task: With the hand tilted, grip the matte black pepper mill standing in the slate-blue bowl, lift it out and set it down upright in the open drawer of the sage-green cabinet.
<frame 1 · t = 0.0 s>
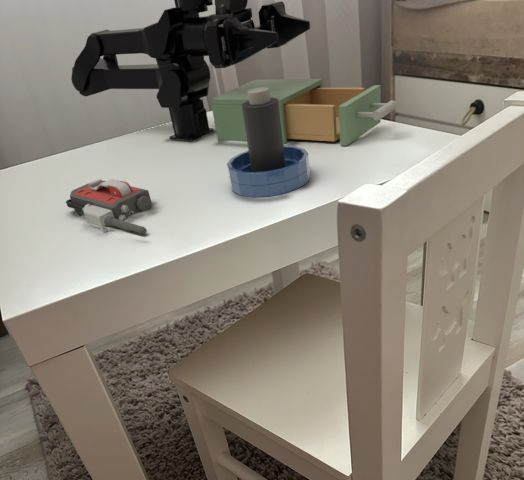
hand: (294, 30, 80), 17 cm above the table, tool horizontal, fingers open, 9 cm apart
bowl: (270, 186, 75), on the table
drawer: (338, 114, 87), point 4 cm above the table, slide at 10.0 cm
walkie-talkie: (121, 218, 74), on the table
cabinet: (271, 134, 96), on the table
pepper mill: (270, 181, 75), point 1 cm above the table, touching bowl
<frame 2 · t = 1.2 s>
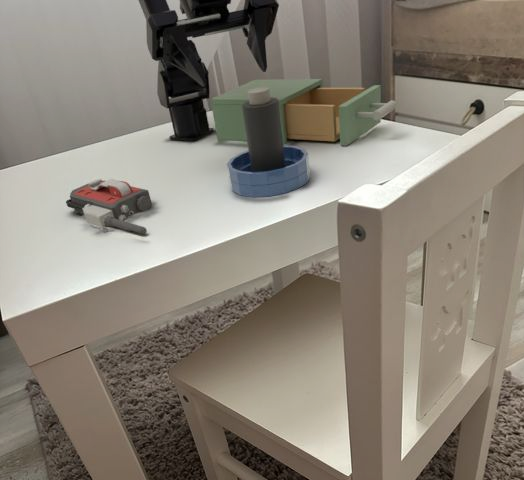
hand: (235, 76, 73), 13 cm above the table, tool tilted 45°, fingers open, 9 cm apart
nothing on the table moved.
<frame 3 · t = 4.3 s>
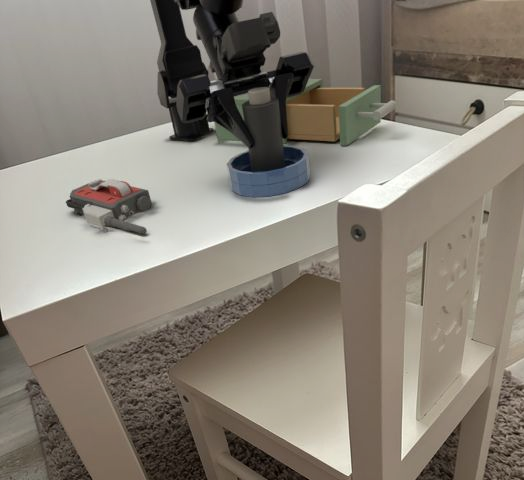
hand: (268, 141, 70), 7 cm above the table, tool tilted 45°, fingers closed on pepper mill, 5 cm apart
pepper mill: (270, 181, 75), point 1 cm above the table, touching bowl, gripper
everything else where it was.
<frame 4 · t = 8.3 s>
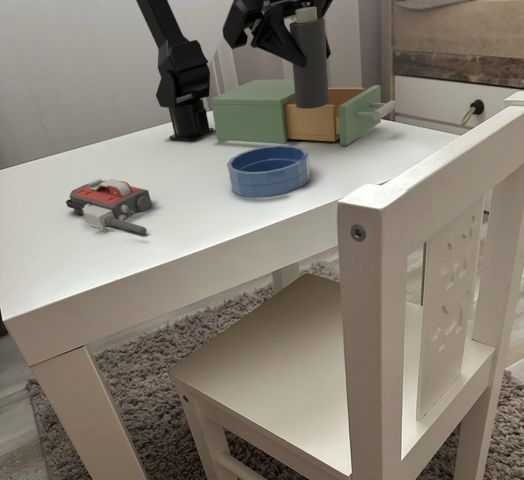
hand: (316, 60, 73), 14 cm above the table, tool tilted 45°, fingers closed on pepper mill, 5 cm apart
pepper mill: (312, 104, 78), point 8 cm above the table, touching gripper
everything else where it was.
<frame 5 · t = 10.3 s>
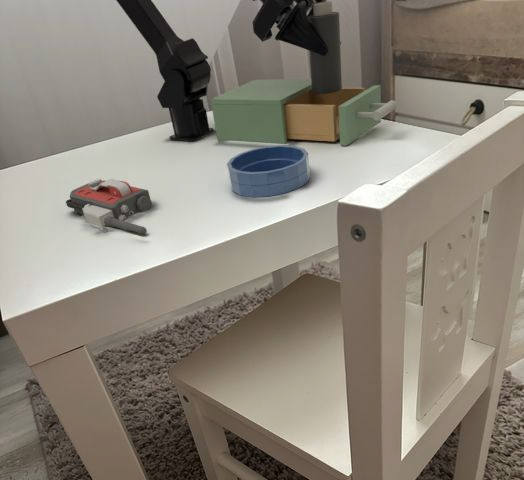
hand: (332, 49, 82), 13 cm above the table, tool tilted 45°, fingers closed on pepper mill, 5 cm apart
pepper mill: (326, 90, 86), point 7 cm above the table, touching gripper
everything else where it was.
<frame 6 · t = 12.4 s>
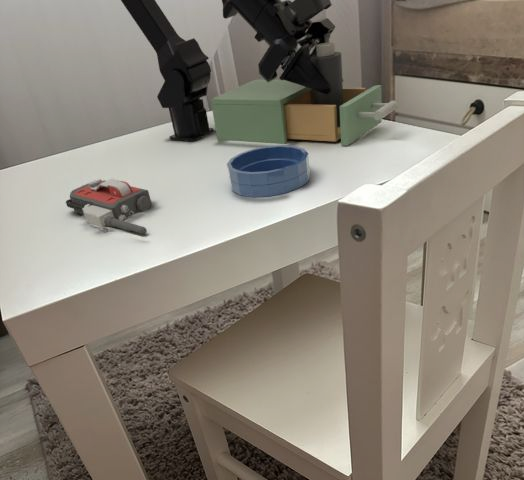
hand: (335, 87, 85), 8 cm above the table, tool tilted 45°, fingers closed on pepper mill, 5 cm apart
drawer: (339, 114, 87), point 4 cm above the table, slide at 10.2 cm, touching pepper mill
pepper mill: (329, 125, 89), point 2 cm above the table, touching drawer, gripper
everything else where it was.
when the fingers open (8 cm above the table, at t = 12.4 s): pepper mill stays where it is, resting on drawer.
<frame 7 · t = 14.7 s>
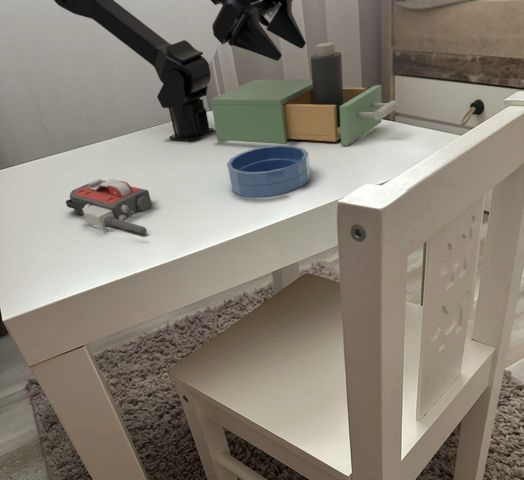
hand: (292, 51, 85), 13 cm above the table, tool tilted 45°, fingers open, 9 cm apart
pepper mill: (329, 125, 89), point 2 cm above the table, touching drawer
everything else where it was.
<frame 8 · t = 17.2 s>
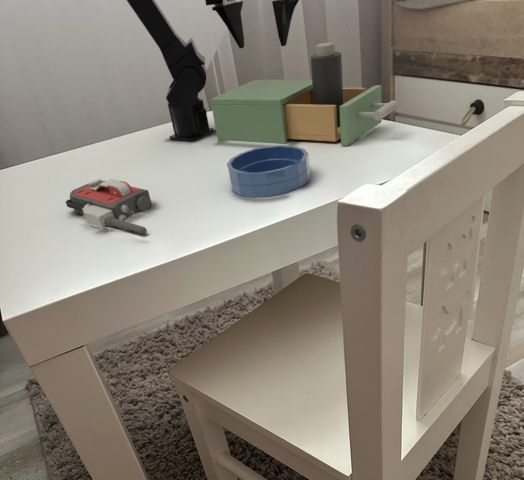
hand: (262, 46, 95), 13 cm above the table, tool pointing down, fingers open, 9 cm apart
nothing on the table moved.
at the end: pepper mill inside the target area in the drawer (0.2 cm from its centre), point 2.0 cm above the cabinet's base; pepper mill tilted 0°; drawer slide at 10.2 cm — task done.
